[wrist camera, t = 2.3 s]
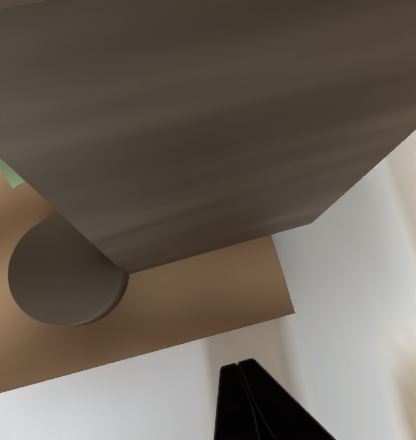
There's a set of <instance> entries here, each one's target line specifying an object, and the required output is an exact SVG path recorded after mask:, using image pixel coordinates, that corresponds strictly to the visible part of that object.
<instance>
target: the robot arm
mask: <svg viewBox="0 0 416 440" xmlns="http://www.w3.org/2000/svg"><path fill="white" fill-rule="evenodd" d="M214 440H336V439H335V438H334V437H333V436H332V435H331V434H330V433H329V432H328V431H327V430H326V429H325V428H324V427H323V426H322V425H321V424H320V423H319V422H318V421H317V420H316V419H314V418H313V417H312V416H311V415H310V414H309V413H308V412H307V411H306V410H305V409H304V408H303V407H302V406H301V405H300V404H299V403H298V402H297V401H296V400H295V399H294V398H293V397H292V396H291V395H290V394H289V393H288V392H287V391H286V390H285V389H284V388H283V387H282V386H281V385H280V384H279V383H278V382H277V381H276V380H275V379H274V378H273V377H272V376H271V375H270V374H269V373H268V372H267V371H266V370H265V369H264V368H263V367H262V366H261V365H260V364H259V363H258V362H257V361H256V360H254V359H252V358H251V359H247V360H243V361H240V362H238V364H235V363H233V364H229V365H226V366H222V367H221V369H220V377H219V388H218V398H217V409H216V420H215V430H214Z"/></svg>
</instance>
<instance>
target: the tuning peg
mask: <svg viewBox="0 0 416 440" xmlns="http://www.w3.org/2000/svg"><path fill="white" fill-rule="evenodd" d="M415 130H416V0H0V158H1V159H2V160H3V161H4V162H5V163H6V164H7V165H8V166H9V167H11V168H12V169H13V170H14V171H15V172H16V173H17V174H18V175H19V176H20V177H21V178H22V179H23V180H25V181H26V182H27V183H28V184H29V185H30V186H31V187H32V188H33V189H34V190H35V191H36V192H37V193H39V194H40V195H41V196H42V197H43V198H44V199H45V200H46V201H47V202H48V203H49V204H50V205H51V206H53V207H54V208H55V209H56V210H57V211H58V212H59V213H60V214H61V215H59V216H54V217H51V218H48V219H46V220H44V221H42V222H40V223H38V224H37V225H35V226H34V227H32V228H31V229H30V230H29V231H28V232H27V233H26V234H24V236H23V237H22V238H21V239H20V240H19V242H18V243H17V245H16V247H15V249H14V251H13V253H12V255H11V258H10V261H9V266H8V284H9V288H10V292H11V294H12V297H13V299H14V300H15V302H16V304H17V305H18V306H19V307H20V309H21V310H22V311H23V312H25V313H26V314H27V315H28V316H30V317H31V318H33V319H35V320H37V321H40V322H43V323H46V324H52V325H66V326H81V325H86V324H90V323H93V322H96V321H98V320H100V319H101V318H103V317H105V316H106V315H108V314H109V313H110V312H111V311H112V310H113V309H114V308H115V307H116V306H117V305H118V303H119V302H120V300H121V299H122V297H123V295H124V293H125V291H126V288H127V285H128V280H129V274H133V273H136V272H140V271H143V270H147V269H150V268H154V267H158V266H161V265H165V264H168V263H172V262H175V261H179V260H182V259H186V258H189V257H193V256H197V255H200V254H204V253H207V252H211V251H214V250H218V249H221V248H225V247H228V246H232V245H236V244H239V243H243V242H246V241H250V240H253V239H257V238H260V237H264V236H267V235H271V234H275V233H278V232H282V231H285V230H289V229H292V228H296V227H299V226H303V225H306V224H310V223H312V222H313V221H314V220H315V219H317V218H318V217H319V216H320V215H321V214H322V213H323V212H324V211H326V210H327V209H328V208H329V207H330V206H331V205H332V204H333V203H334V202H336V201H337V200H338V199H339V198H340V197H341V196H342V195H343V194H344V193H346V192H347V191H348V190H349V189H350V188H351V187H352V186H353V185H355V184H356V183H357V182H358V181H359V180H360V179H361V178H362V177H363V176H365V175H366V174H367V173H368V172H369V171H370V170H371V169H372V168H373V167H375V166H376V165H377V164H378V163H379V162H380V161H381V160H382V159H383V158H385V157H386V156H387V155H388V154H389V153H390V152H391V151H392V150H394V149H395V148H396V147H397V146H398V145H399V144H400V143H401V142H402V141H404V140H405V139H406V138H407V137H408V136H409V135H410V134H411V133H412V132H414V131H415Z"/></svg>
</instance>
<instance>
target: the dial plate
mask: <svg viewBox="0 0 416 440" xmlns="http://www.w3.org/2000/svg"><path fill="white" fill-rule="evenodd" d="M59 215H61V214H60V213H59V212H58V211H57V210H56V209H55V208H54V207H53V206H51V205H50V204H49V203H48V202H47V201H46V200H45V199H44V198H43V197H42V196H41V195H40V194H39V193H37V192H36V191H35V190H34V189H33V188H32V187H31V186H30V185H29V184H28V183H27V182H26V181H25V180H23V179H22V178H21V177H20V176H19V175H18V174H17V173H16V172H15V171H14V170H13V169H12V168H11V167H9V166H8V165H7V164H6V163H5V162H4V161H3V160H2V159H1V158H0V393H2V392H6V391H9V390H13V389H17V388H20V387H24V386H28V385H32V384H35V383H39V382H43V381H46V380H50V379H54V378H57V377H61V376H65V375H68V374H72V373H76V372H79V371H83V370H87V369H91V368H94V367H98V366H102V365H105V364H109V363H113V362H116V361H120V360H124V359H127V358H131V357H135V356H139V355H142V354H146V353H150V352H153V351H157V350H161V349H164V348H168V347H172V346H175V345H179V344H183V343H186V342H190V341H194V340H198V339H201V338H205V337H209V336H212V335H216V334H220V333H223V332H227V331H231V330H234V329H238V328H242V327H245V326H249V325H253V324H257V323H260V322H264V321H268V320H271V319H275V318H279V317H282V316H286V315H290V314H293V313H295V311H294V308H293V305H292V302H291V299H290V295H289V292H288V289H287V286H286V283H285V279H284V276H283V273H282V270H281V267H280V263H279V260H278V257H277V254H276V251H275V247H274V244H273V241H272V238H271V235H267V236H264V237H260V238H257V239H253V240H250V241H246V242H243V243H239V244H236V245H232V246H228V247H225V248H221V249H218V250H214V251H211V252H207V253H204V254H200V255H197V256H193V257H189V258H186V259H182V260H179V261H175V262H172V263H168V264H165V265H161V266H158V267H154V268H150V269H147V270H143V271H140V272H136V273H133V274H129V280H128V285H127V288H126V291H125V293H124V295H123V297H122V299H121V300H120V302H119V303H118V305H117V306H116V307H115V308H114V309H113V310H112V311H111V312H110V313H109V314H108V315H106V316H105V317H103V318H101V319H100V320H98V321H96V322H93V323H90V324H86V325H81V326H66V325H52V324H46V323H43V322H40V321H37V320H35V319H33V318H31V317H30V316H28V315H27V314H26V313H25V312H23V311H22V310H21V309H20V307H19V306H18V305H17V304H16V302H15V300H14V299H13V297H12V294H11V292H10V288H9V284H8V266H9V261H10V258H11V255H12V253H13V251H14V249H15V247H16V245H17V243H18V242H19V240H20V239H21V238H22V237H23V236H24V234H26V233H27V232H28V231H29V230H30V229H31V228H32V227H34V226H35V225H37V224H38V223H40V222H42V221H44V220H46V219H48V218H51V217H54V216H59Z"/></svg>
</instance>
